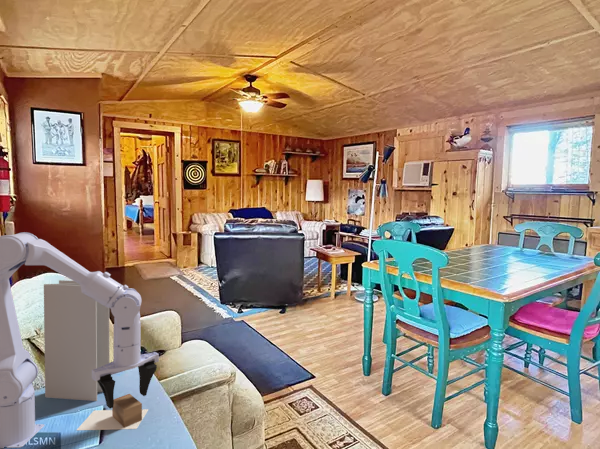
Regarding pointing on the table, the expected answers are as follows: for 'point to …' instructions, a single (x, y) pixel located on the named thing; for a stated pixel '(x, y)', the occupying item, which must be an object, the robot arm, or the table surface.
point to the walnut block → (127, 410)
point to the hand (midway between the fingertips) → (127, 400)
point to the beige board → (106, 421)
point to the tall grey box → (73, 341)
